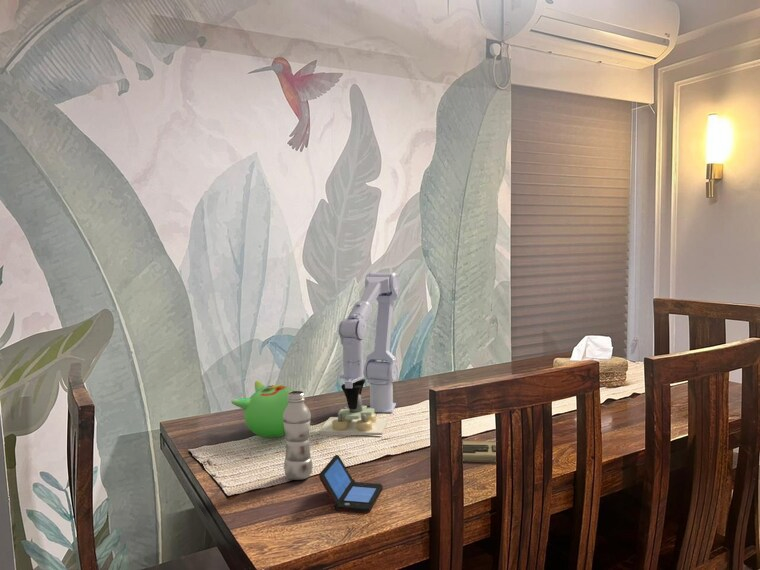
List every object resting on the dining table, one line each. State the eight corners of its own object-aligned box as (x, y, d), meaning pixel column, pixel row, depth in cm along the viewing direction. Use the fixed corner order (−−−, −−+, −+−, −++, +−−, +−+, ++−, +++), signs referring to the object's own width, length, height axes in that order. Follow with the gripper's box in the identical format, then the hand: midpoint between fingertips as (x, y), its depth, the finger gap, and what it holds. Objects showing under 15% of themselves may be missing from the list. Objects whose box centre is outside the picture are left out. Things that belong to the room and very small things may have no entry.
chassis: (330, 420, 175) (329, 404, 175) (388, 421, 173) (388, 405, 172) (319, 434, 163) (318, 417, 162) (382, 436, 160) (381, 418, 159)
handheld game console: (369, 515, 115) (368, 479, 114) (318, 510, 117) (317, 475, 117) (384, 488, 127) (383, 455, 126) (337, 484, 129) (336, 452, 129)
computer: (437, 463, 141) (437, 449, 141) (438, 451, 149) (438, 438, 149) (502, 465, 139) (502, 451, 139) (500, 452, 147) (500, 440, 147)
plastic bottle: (299, 469, 138) (296, 387, 136) (318, 476, 133) (316, 391, 132) (278, 478, 133) (275, 393, 131) (298, 486, 128) (295, 398, 127)
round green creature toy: (290, 447, 153) (288, 393, 151) (231, 444, 156) (228, 391, 155) (311, 426, 170) (310, 377, 169) (258, 423, 174) (256, 375, 172)
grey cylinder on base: (344, 409, 173) (342, 391, 173) (376, 408, 171) (375, 390, 171) (334, 419, 163) (333, 400, 163) (369, 419, 161) (367, 399, 161)
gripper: (344, 355, 174) (346, 399, 175) (333, 365, 159) (335, 413, 161) (367, 355, 173) (368, 399, 174) (358, 366, 158) (359, 414, 159)
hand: (354, 406), depth 167 cm, fingers closed on grey cylinder on base, 4 cm apart
